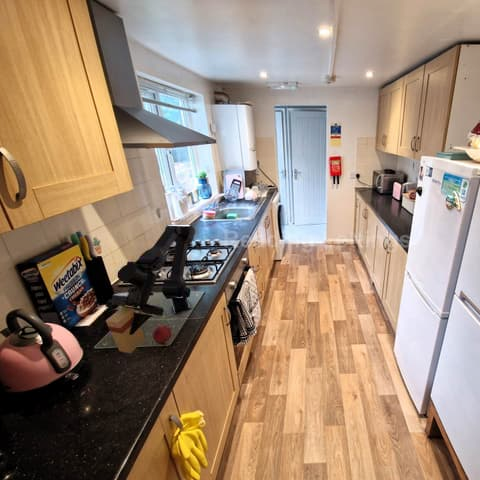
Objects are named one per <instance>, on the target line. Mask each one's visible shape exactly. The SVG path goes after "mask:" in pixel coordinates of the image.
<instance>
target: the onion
mask: <svg viewBox="0 0 480 480" xmlns="http://www.w3.org/2000/svg"><path fill="white" fill-rule="evenodd" d="M171 336H172V330H171V328H169V327H168V326H166V325H163V324H161V323H160V324H159V325H158V326H157V328H155V330H154V331H153V333H152V339H153V341H154V342H156V343H157V344H166V343H167V342H168V341H169V340H170V338H171Z"/></svg>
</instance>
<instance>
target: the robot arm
mask: <svg viewBox="0 0 480 480" xmlns="http://www.w3.org/2000/svg"><path fill="white" fill-rule="evenodd" d="M195 235H196V229H195V227H193V225H191V224H190V225H187V224H184V225H183V224H168V225H166V226H165V228H164V231H163V232H162V233H161V235H160V236H159V238H158V239H157V241H156V242H155V243H154V245H153V246H152V247H151V248H149V249H147V250H145V251H144V252H142V253H141V255H140V256H139V257H138V259H136V261H127V262H126V264H125V265H122V267H121V268H120V269H119V270H118V271H117V279H118V280H119V281H121V282H123V283H127V284H129V285H133V287H130V288H128V290H127V291H126V292H120V293H113V294H112V298H110V299H109V300H107V301H106V303H105V308H111V309H112V312H115V313H116V312H117V311H118V310H119V309H121V308H122V307H126V308H132V309H134V310H135V311H136V312H135V313H134V317H135V318H134V321H133V324H132V327H131V330H130V333H129V334H130V335H133V334H134V333H135V332H136V331H137V330H138V329H139V328H140V327H141V328H142V326H143V325H144V324H145V323H146V322H147V321H148V320H149V319H150V318H153V317H154V316H160V317H163V315H164V312H165V311H164V307H162V306H157V305H152V304H149V303H148V301H149V299H150V297H151V296H154V292H152V291H153V288H154V286H155V284H156V281H157V279H159V280H160V279H161V275H160V274H159V271H158V270H161V269H162V268H163V266H164V264H165V262H166V261H167V259H166V254H167V253H168V250H169V249H170V248H171V247H172V245H173V243H174V242H175V247H174V252H173V258H172V265H171V269H170V274H169V276H168V277H167V278H165V279H164V280H163V284H162V288H161V293H162V295H163V296H164V298H165V299H166V300H171V302H172V305H171V309H172V310H173V312H174V314H175V315H176V314H179V313H182V312H184V311H189V310H190V309H191V308H192V307H191V305H190V303H189V301H188V298H190V296H191V292H192V291H191V288H190V287H187V282H186V280H185V278H184V272H185V267H186V260H187V255H188V249H189V245H190V244H191V243H192V242H193V240H194V238H195ZM137 311H138V312H137Z"/></svg>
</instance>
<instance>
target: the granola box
mask: <svg viewBox="0 0 480 480" xmlns="http://www.w3.org/2000/svg"><path fill="white" fill-rule="evenodd" d="M134 313H136V310H134V309H132V308H126V307H122V308H121V309H119V310H118V311H117V312H115V313H113V314H112V315H111V316H109V317H108V318H107V319H106V320H105V322H106V324H107V327H108V330H109V332H110V334H111V336H112V338H113V340H114V342H115V345H116V347H117V348H118V351H119V352H122V353H125V354H132V353H133V352H134V351H135V350H136V349H137V348H138V347H139V346H140V345H142V343H143V342H144V341H145V340H146V336H145V334H144V331H143V328H142V326H141V327H140V328H139V329H138V330H137V331H136V332H135V333H134V334H133V335H130V334H129V333H130V330H131V327H132V324H133V321H134V318H135V317H134Z"/></svg>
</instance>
